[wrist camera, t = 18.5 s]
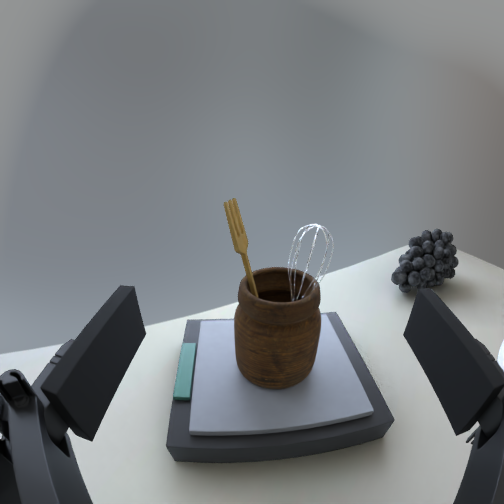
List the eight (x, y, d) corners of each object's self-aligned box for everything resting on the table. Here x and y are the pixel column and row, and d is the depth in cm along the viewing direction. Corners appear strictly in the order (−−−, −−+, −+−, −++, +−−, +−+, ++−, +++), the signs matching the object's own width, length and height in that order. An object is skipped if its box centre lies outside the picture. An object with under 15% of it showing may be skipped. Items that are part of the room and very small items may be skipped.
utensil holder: (305, 400, 16) (334, 223, 11) (219, 379, 18) (204, 211, 13) (319, 346, 21) (339, 199, 17) (247, 332, 23) (246, 191, 19)
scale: (174, 460, 14) (163, 442, 13) (190, 338, 27) (186, 314, 26) (383, 437, 15) (398, 415, 14) (332, 330, 28) (336, 306, 27)
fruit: (414, 238, 28) (463, 226, 33) (369, 238, 36) (425, 227, 41) (416, 307, 29) (465, 279, 34) (373, 297, 37) (428, 275, 41)
